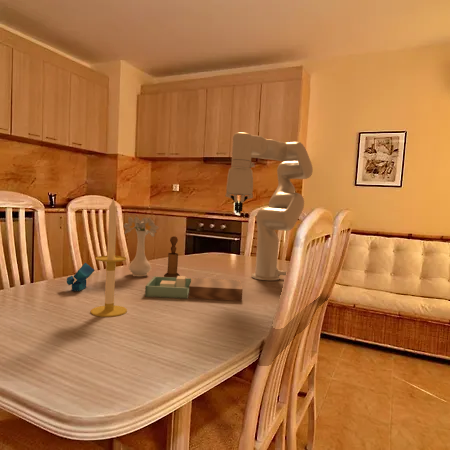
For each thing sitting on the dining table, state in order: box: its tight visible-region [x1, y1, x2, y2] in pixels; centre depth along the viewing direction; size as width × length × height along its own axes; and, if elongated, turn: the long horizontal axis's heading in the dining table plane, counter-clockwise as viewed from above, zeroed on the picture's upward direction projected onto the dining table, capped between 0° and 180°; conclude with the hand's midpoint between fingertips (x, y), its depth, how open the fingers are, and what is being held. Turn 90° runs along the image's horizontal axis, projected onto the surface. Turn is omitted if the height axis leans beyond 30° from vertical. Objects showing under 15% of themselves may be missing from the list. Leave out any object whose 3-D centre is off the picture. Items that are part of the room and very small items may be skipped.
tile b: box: [160, 280, 176, 287], centre depth 130 cm, size 5×5×3 cm
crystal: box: [66, 262, 95, 292], centre depth 127 cm, size 7×9×12 cm
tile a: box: [176, 275, 187, 288], centre depth 130 cm, size 5×5×3 cm
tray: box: [144, 276, 192, 299], centre depth 130 cm, size 14×16×4 cm
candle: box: [90, 197, 128, 318], centre depth 103 cm, size 10×10×32 cm
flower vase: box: [123, 216, 160, 278], centre depth 155 cm, size 13×18×25 cm
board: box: [188, 277, 244, 302], centre depth 131 cm, size 18×14×4 cm
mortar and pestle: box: [163, 236, 181, 278], centre depth 148 cm, size 7×6×18 cm
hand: (238, 212), depth 143 cm, fingers closed
